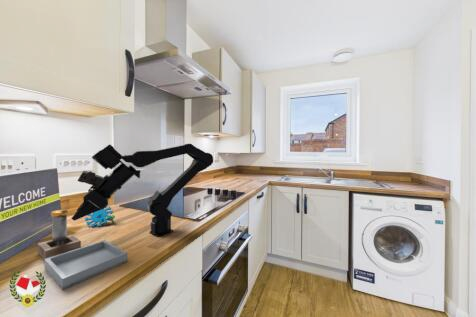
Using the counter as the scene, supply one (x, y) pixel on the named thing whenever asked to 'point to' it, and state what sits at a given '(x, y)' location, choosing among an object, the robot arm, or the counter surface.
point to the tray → (84, 263)
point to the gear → (100, 217)
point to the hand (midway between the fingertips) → (75, 215)
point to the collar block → (58, 247)
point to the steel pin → (59, 227)
